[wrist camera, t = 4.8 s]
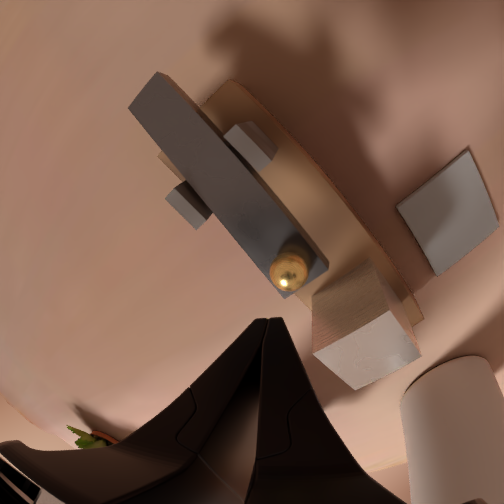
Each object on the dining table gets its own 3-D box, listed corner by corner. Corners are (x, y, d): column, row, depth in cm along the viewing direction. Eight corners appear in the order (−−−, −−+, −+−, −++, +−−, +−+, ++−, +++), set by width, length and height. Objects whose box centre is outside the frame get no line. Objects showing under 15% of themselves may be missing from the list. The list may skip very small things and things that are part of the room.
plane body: (413, 295, 20) (440, 358, 14) (353, 331, 23) (363, 398, 17) (240, 84, 15) (205, 69, 9) (177, 148, 18) (119, 172, 12)
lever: (329, 261, 12) (326, 282, 10) (288, 289, 13) (277, 313, 11) (168, 75, 12) (140, 65, 10) (140, 109, 13) (110, 106, 11)
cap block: (401, 302, 17) (421, 356, 13) (348, 334, 19) (354, 390, 15) (369, 257, 16) (389, 310, 12) (311, 296, 18) (312, 353, 14)
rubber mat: (496, 224, 16) (499, 226, 16) (435, 274, 19) (437, 276, 19) (465, 149, 14) (468, 150, 14) (395, 206, 17) (397, 208, 17)
